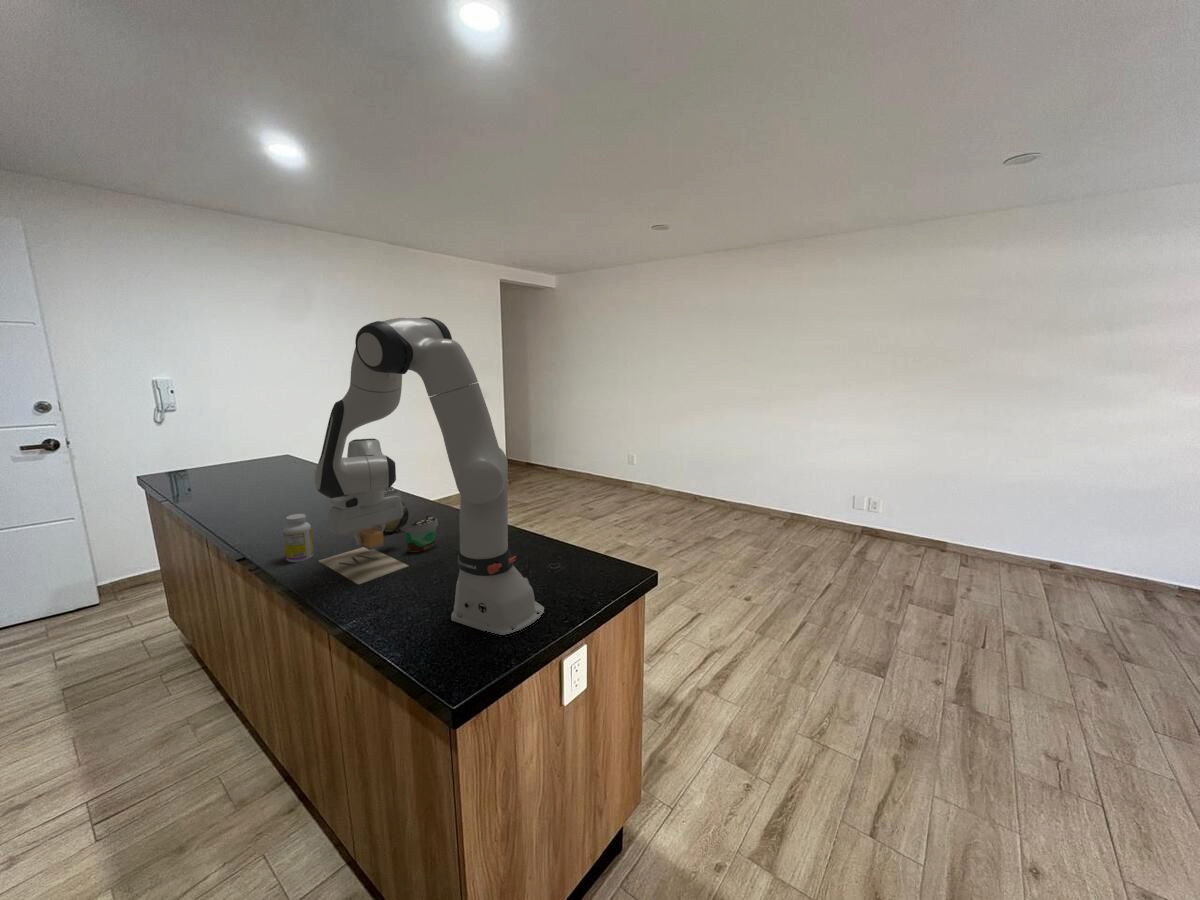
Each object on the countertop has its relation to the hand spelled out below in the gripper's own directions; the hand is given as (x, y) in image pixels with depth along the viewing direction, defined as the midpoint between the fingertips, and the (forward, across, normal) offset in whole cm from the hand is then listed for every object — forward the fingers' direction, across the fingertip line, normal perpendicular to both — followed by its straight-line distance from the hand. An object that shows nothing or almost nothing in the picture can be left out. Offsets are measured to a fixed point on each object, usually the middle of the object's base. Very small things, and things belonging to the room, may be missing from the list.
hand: (369, 540), depth 130 cm
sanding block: (+1, 0, 0) cm, 1 cm away
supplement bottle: (+6, +12, -17) cm, 22 cm away
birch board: (+6, +4, +3) cm, 8 cm away
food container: (+6, -14, +6) cm, 17 cm away
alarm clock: (+6, -16, -16) cm, 24 cm away
